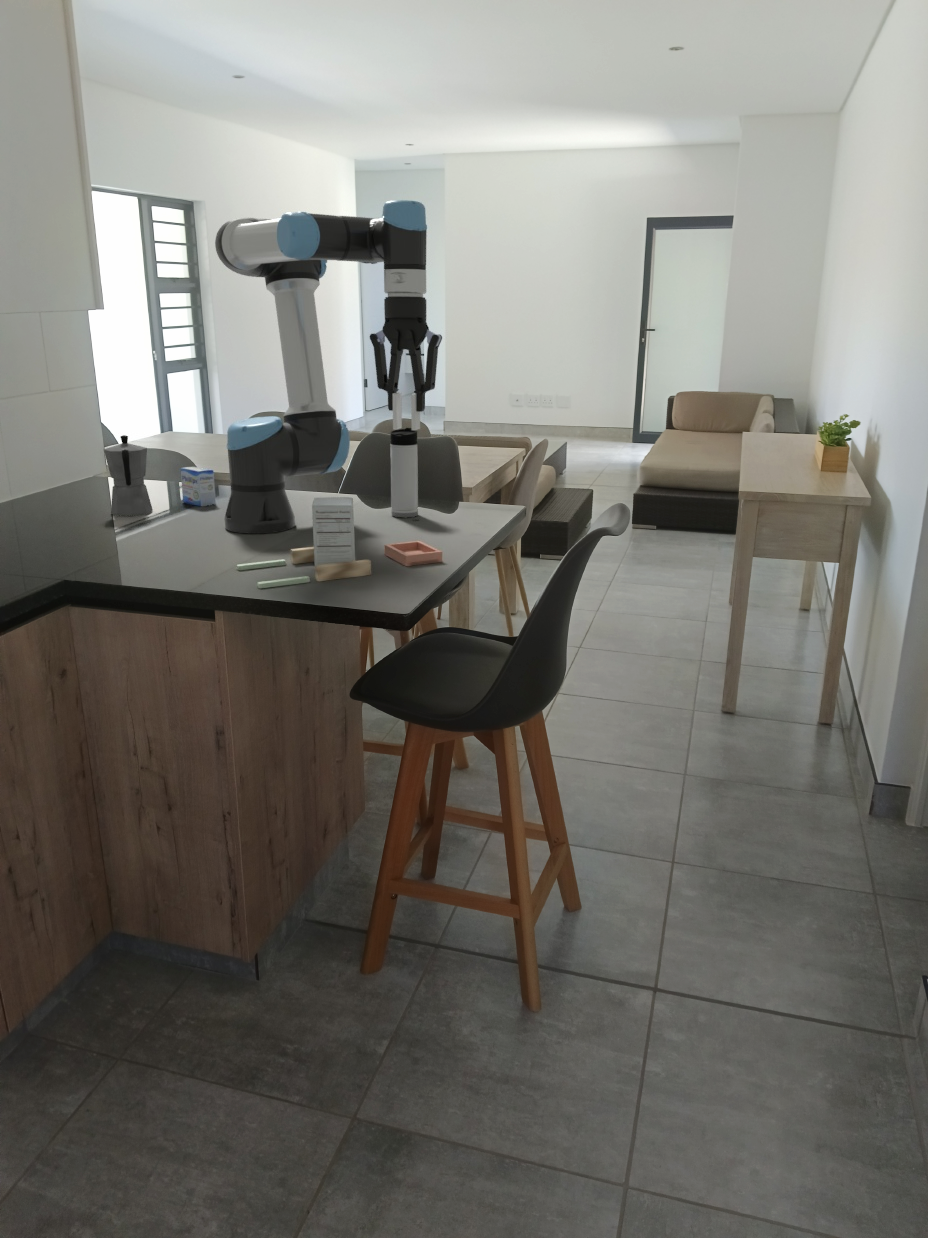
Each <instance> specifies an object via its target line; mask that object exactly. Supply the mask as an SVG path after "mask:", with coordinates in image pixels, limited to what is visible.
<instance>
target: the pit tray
mask: <svg viewBox="0 0 928 1238" xmlns="http://www.w3.org/2000/svg"><path fill="white" fill-rule="evenodd" d="M383 547H384V549H383V551H384V556H386V557H388V558H391V559H392V560H394V561H396V562H397V563H399V564H401V565H403V566H405V567H411V566H418V565H426V564H427V565H428V564H434V563H435V564H436V563H443V551H442V550H440V549H437V548H436V547H433V546H431V545H430V544H427V543H425V542H423V541H421V540H415V541H414V540H413V541H404V542H398V543H387V544H384V546H383Z"/></svg>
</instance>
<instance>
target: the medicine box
mask: <svg viewBox="0 0 928 1238" xmlns="http://www.w3.org/2000/svg"><path fill="white" fill-rule="evenodd" d="M214 473H215V472H214V470H213V469H209V468H204V467H203V468H202V467H198V466H186V467H181V468H180V475H181V477H180V478H181V479H180V480H181V490H182V491H181V492H182V502H183V503H184V504H188V505H191V506H192V505H193V506H198V507H206V506H207V505H209V506H213V505H212V504H214V505H216V503H217V501H216V489H215V488H216V487H215V486H216V485H215V474H214ZM207 507H208V506H207Z"/></svg>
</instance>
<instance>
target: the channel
mask: <svg viewBox="0 0 928 1238" xmlns="http://www.w3.org/2000/svg"><path fill="white" fill-rule="evenodd" d="M290 562H291V563H292V564H293V565H297V564H306V563H313V562H314V563H315V560H314V546H309V547H300V548H299V547H298V548H290ZM314 573H315V581H317V582H323V581H331V580H340V579H348V578H355V577H356V578H357V577H363V576H371V575H372V562H371V560H370V559H368V558H367V559H360V560H355V561H350V562H342V563H333V564H325V565H317V566H315V565H314Z"/></svg>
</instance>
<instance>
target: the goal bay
mask: <svg viewBox="0 0 928 1238" xmlns="http://www.w3.org/2000/svg"><path fill="white" fill-rule="evenodd" d="M286 565H287V561H286V559H284V558H282V559H277V560H276V559H274V560H267V561H266V560H264V561H257V562H250V563H249V562H247V563H240V564H236V566H235V567H236V570H237V571H246V570H253V569H262V568H268V567H269V568H271V567H279V566H286ZM310 579H311V578H310V577H309V576H308V575H306V576H298V577H297V576H296V577H288V578H282V579H280V578H279V579H273V580H265V581H257V582H256V583H257V585H256V586H257V588H258V589H265V588H266V589H267V588H273V587H281V586H282V587H283V586H289V585H299V584H304V583H310V582H311V580H310Z"/></svg>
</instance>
